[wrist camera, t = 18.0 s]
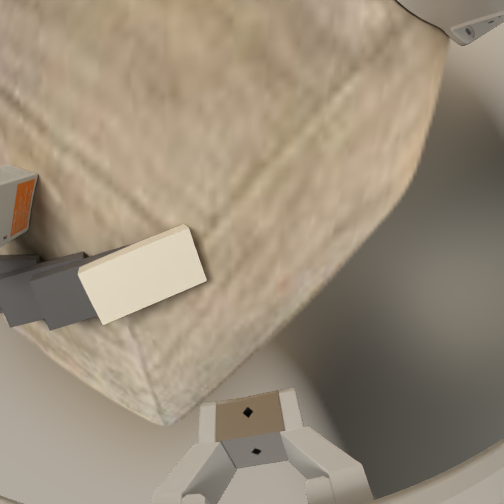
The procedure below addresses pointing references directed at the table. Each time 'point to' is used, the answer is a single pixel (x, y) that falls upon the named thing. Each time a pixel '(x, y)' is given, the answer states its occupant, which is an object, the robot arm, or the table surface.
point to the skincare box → (15, 201)
